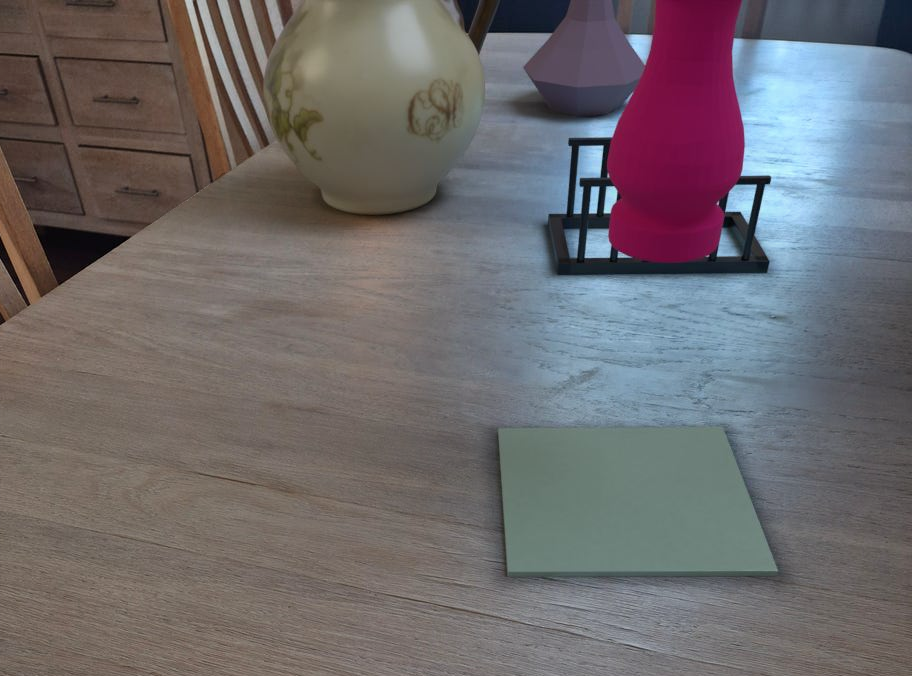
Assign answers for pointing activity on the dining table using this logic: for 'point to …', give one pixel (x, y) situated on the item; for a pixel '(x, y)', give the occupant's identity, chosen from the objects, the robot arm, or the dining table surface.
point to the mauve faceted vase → (586, 62)
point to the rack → (741, 230)
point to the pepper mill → (679, 137)
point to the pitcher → (377, 97)
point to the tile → (627, 504)
